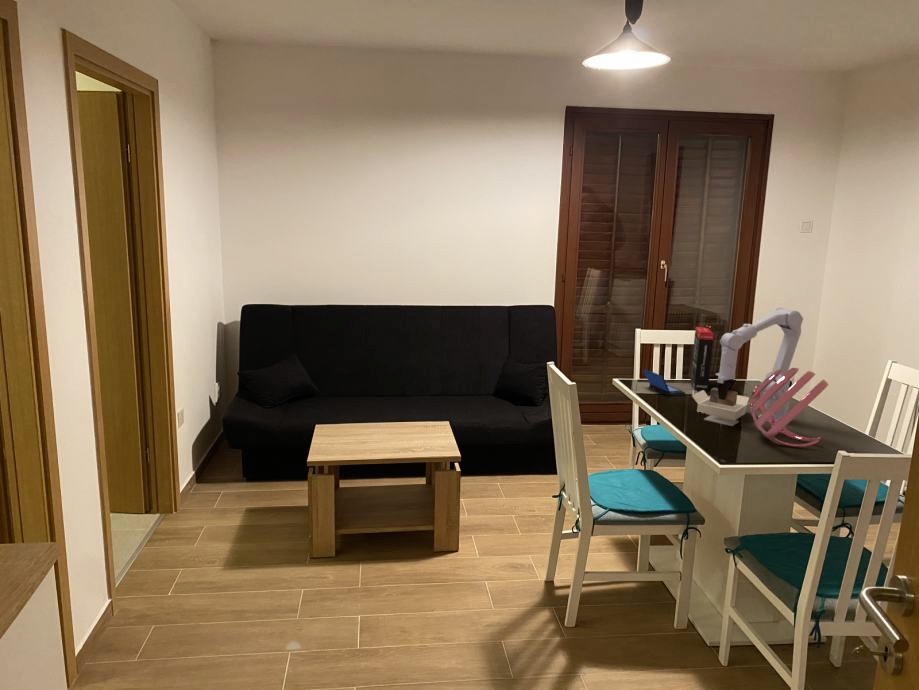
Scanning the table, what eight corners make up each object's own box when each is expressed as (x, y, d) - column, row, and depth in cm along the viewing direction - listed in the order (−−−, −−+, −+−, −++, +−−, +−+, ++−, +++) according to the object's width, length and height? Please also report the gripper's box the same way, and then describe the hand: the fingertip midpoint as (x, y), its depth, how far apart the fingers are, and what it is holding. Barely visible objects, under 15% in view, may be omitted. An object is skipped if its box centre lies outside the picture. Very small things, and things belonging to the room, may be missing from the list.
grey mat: (738, 422, 266) (739, 421, 266) (732, 426, 260) (732, 425, 260) (710, 415, 273) (710, 414, 273) (703, 419, 267) (703, 418, 266)
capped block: (735, 404, 266) (737, 392, 265) (732, 406, 263) (734, 393, 262) (712, 399, 272) (714, 387, 271) (709, 401, 269) (710, 389, 268)
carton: (754, 414, 279) (756, 398, 278) (742, 422, 267) (744, 406, 265) (703, 403, 292) (705, 388, 291) (689, 410, 279) (691, 395, 278)
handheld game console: (686, 396, 304) (688, 375, 302) (660, 396, 300) (662, 376, 298) (666, 387, 318) (668, 367, 317) (640, 387, 314) (643, 368, 313)
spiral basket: (867, 395, 237) (802, 342, 247) (838, 428, 219) (769, 369, 229) (813, 441, 256) (755, 390, 266) (783, 474, 238) (722, 418, 248)
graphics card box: (708, 391, 312) (716, 333, 307) (692, 390, 314) (699, 331, 309) (703, 383, 329) (710, 327, 324) (688, 381, 330) (694, 326, 325)
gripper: (724, 360, 272) (719, 393, 275) (711, 364, 261) (707, 399, 264) (742, 363, 268) (737, 396, 270) (730, 368, 257) (725, 403, 259)
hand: (723, 398), depth 267 cm, fingers closed on capped block, 4 cm apart
